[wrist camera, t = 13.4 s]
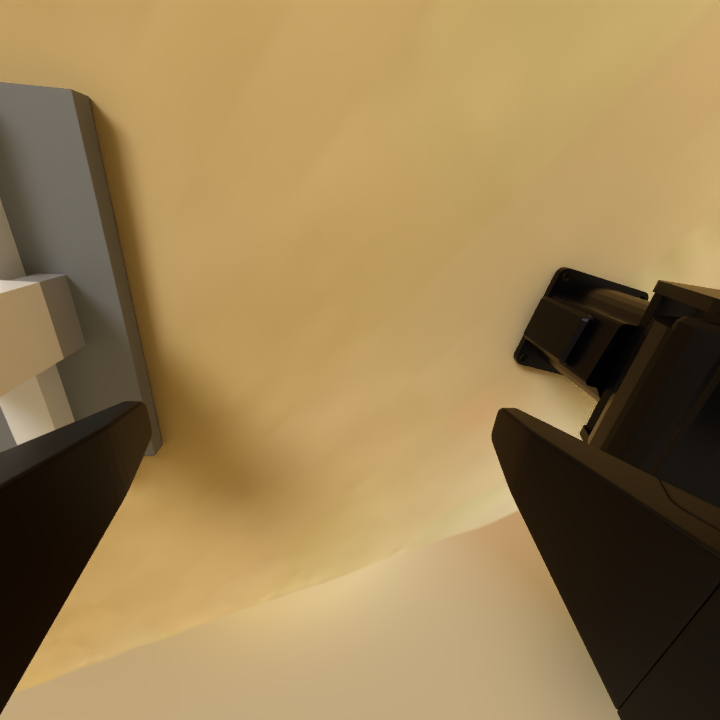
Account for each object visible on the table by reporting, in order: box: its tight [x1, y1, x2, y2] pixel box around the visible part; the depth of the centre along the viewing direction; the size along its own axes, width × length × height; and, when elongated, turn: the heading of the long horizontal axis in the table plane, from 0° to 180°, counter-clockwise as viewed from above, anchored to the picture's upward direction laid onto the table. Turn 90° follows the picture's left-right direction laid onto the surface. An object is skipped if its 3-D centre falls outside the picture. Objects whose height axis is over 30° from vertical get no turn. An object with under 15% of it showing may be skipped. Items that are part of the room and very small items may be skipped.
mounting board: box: [0, 82, 162, 456], centre depth 18 cm, size 20×11×3 cm, turn 177°
